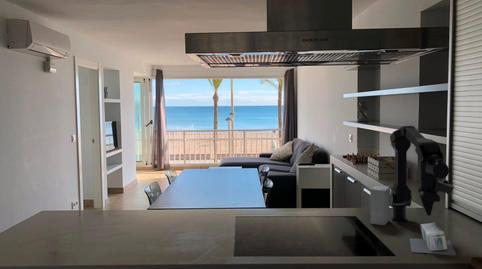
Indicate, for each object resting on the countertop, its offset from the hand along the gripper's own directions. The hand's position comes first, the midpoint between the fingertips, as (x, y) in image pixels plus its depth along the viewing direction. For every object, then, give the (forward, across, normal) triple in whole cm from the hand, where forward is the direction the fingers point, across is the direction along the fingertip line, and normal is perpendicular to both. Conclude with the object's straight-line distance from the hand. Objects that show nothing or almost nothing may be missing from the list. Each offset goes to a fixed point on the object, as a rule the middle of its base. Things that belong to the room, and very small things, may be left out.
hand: (428, 215), depth 159 cm
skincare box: (+9, +20, +18) cm, 29 cm away
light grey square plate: (+9, -9, 0) cm, 13 cm away
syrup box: (+6, 0, 0) cm, 6 cm away
